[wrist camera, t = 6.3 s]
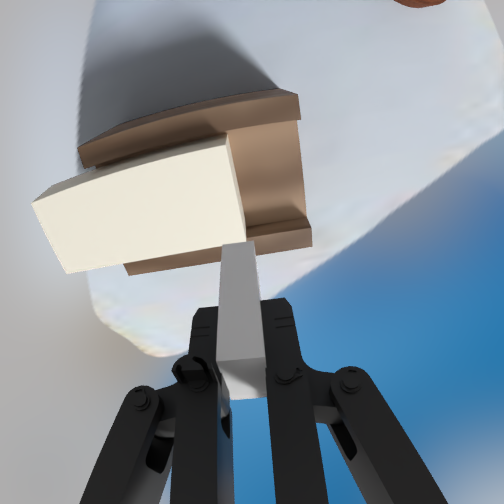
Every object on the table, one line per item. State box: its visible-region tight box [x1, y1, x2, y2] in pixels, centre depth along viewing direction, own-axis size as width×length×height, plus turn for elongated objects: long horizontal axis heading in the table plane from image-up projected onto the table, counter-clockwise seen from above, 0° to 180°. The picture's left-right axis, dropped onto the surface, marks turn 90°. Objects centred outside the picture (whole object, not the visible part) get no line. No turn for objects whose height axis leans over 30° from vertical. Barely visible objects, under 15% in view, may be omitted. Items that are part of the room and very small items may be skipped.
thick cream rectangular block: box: [31, 134, 246, 274], centre depth 24 cm, size 8×18×4 cm, turn 100°
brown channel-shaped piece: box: [77, 89, 312, 276], centre depth 28 cm, size 14×18×10 cm
